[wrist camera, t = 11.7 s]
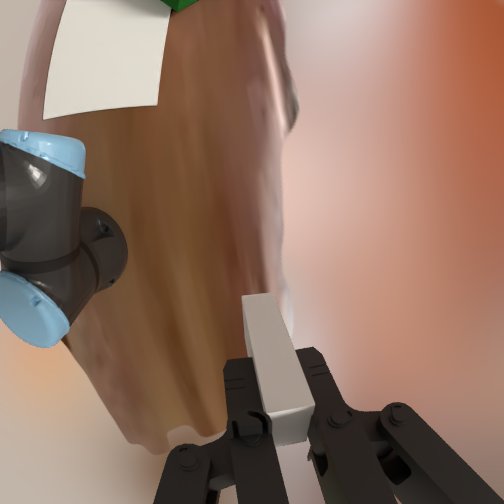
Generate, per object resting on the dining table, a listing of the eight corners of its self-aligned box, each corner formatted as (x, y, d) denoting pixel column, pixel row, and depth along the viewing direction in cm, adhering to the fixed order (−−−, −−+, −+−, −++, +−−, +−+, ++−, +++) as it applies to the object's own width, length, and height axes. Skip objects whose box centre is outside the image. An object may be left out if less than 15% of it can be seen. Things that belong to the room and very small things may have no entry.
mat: (44, 119, 34) (43, 119, 34) (71, -7, 24) (69, -8, 23) (157, 105, 36) (156, 105, 36) (180, -31, 26) (180, -32, 26)
